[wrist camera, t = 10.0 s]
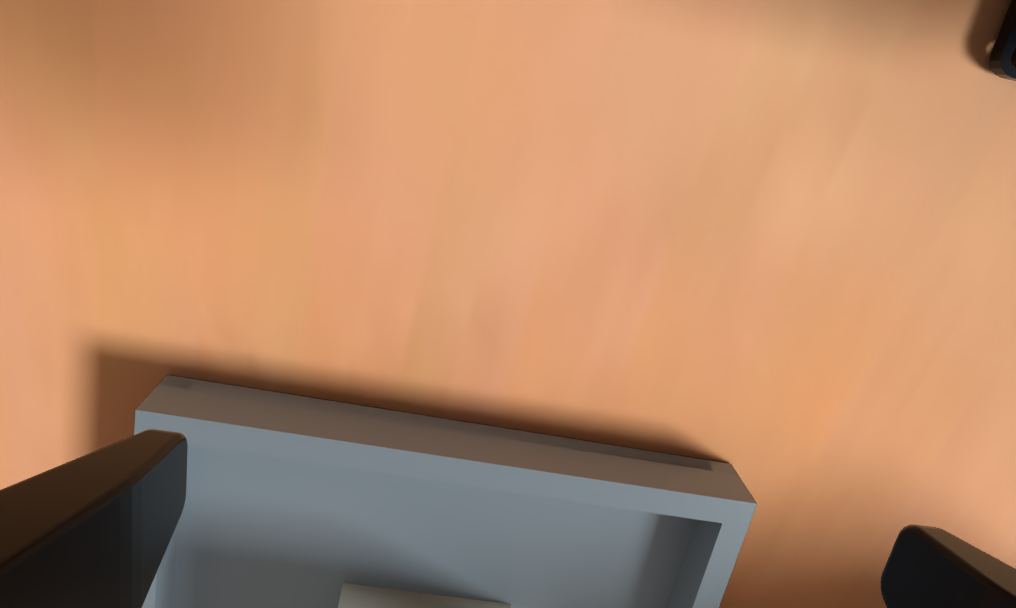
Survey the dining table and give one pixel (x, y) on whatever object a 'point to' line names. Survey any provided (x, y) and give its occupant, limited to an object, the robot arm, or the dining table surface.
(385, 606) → the cream block
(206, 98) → the dining table surface
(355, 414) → the tray
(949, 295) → the dining table surface
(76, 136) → the dining table surface
